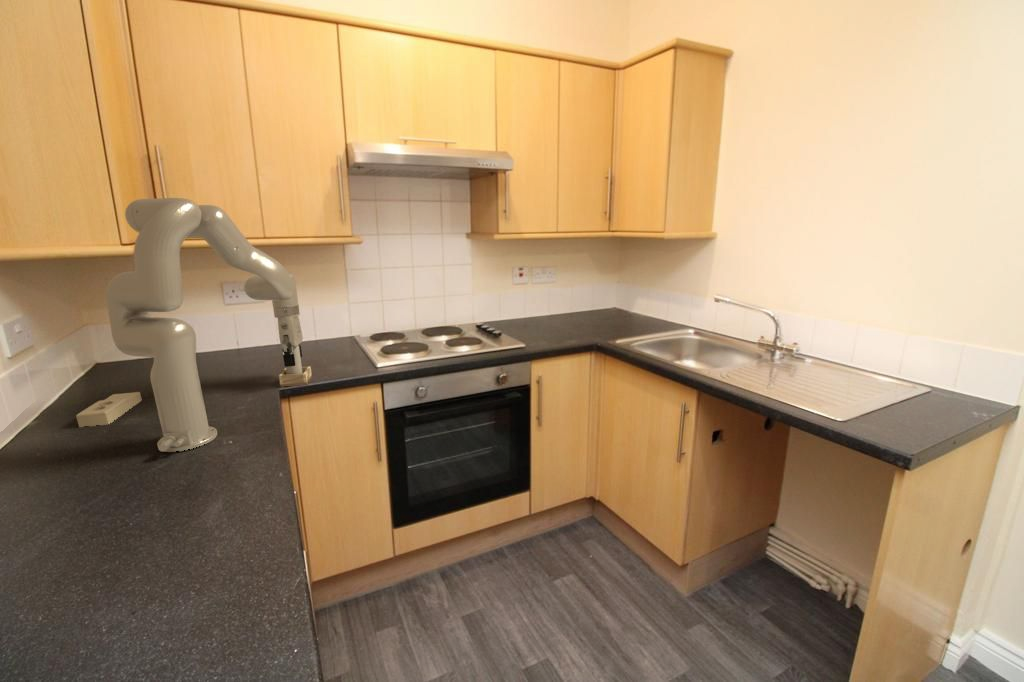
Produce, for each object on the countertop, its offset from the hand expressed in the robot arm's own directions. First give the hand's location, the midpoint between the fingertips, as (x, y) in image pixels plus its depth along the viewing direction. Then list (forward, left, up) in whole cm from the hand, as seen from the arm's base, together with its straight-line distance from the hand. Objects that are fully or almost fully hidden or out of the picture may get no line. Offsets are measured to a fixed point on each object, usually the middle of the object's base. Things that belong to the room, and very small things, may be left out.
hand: (293, 361), depth 161 cm
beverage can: (0, 0, -6) cm, 7 cm away
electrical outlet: (-15, +47, -8) cm, 50 cm away
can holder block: (0, 0, -7) cm, 7 cm away
